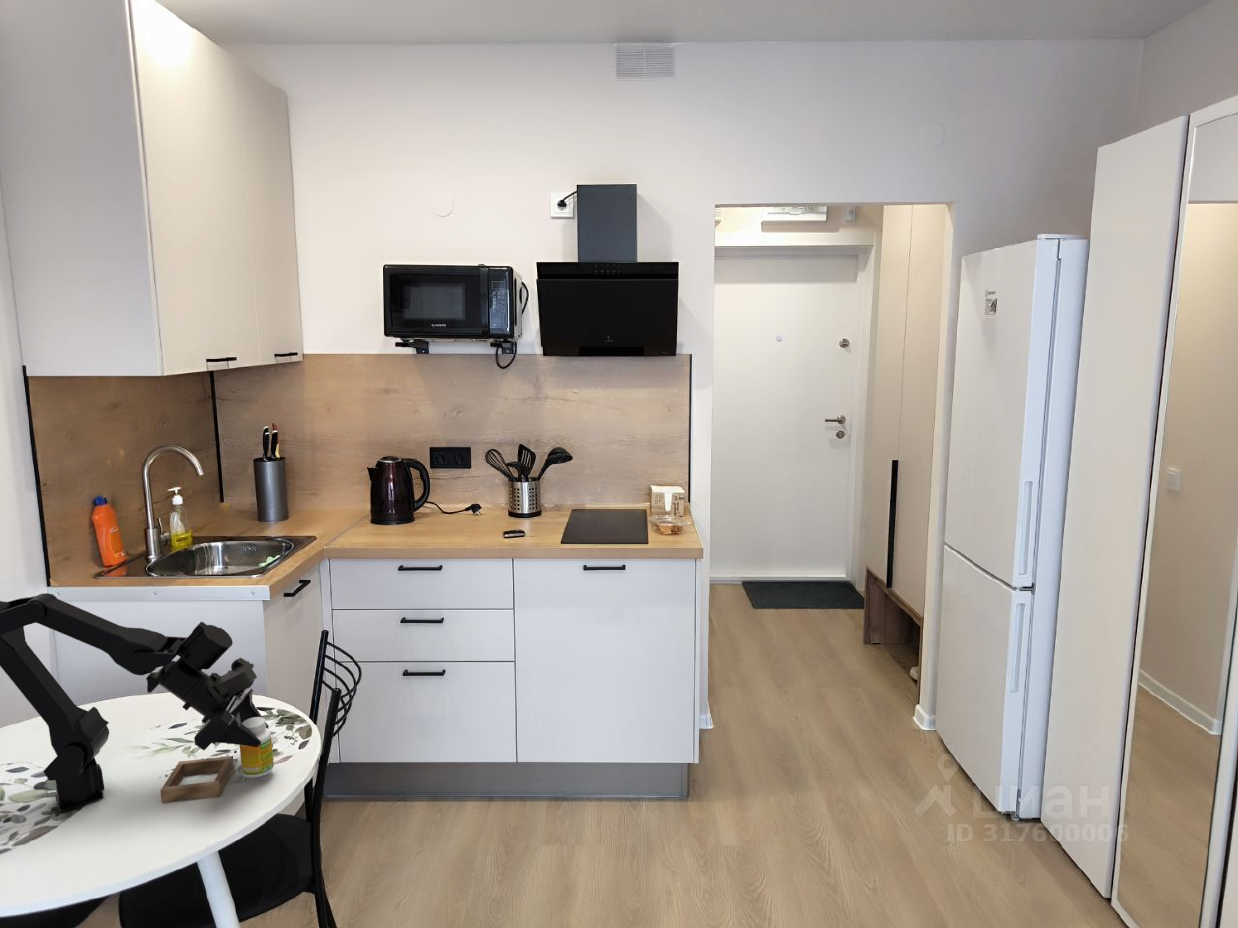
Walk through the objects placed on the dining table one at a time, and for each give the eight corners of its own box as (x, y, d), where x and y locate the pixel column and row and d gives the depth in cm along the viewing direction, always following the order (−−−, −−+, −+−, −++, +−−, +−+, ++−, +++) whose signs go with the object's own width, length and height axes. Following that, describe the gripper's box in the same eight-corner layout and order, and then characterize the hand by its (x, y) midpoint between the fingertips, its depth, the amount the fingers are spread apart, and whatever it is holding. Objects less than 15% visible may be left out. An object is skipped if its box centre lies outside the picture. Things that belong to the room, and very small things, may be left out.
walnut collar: (162, 802, 142) (160, 790, 142) (180, 773, 151) (179, 761, 151) (219, 796, 144) (218, 783, 143) (234, 767, 153) (233, 755, 153)
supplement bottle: (266, 778, 147) (261, 729, 145) (236, 778, 147) (231, 729, 145) (278, 762, 152) (274, 714, 150) (250, 762, 152) (246, 714, 150)
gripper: (207, 676, 135) (282, 730, 139) (238, 633, 153) (303, 682, 157) (162, 723, 135) (237, 776, 139) (197, 675, 153) (264, 723, 157)
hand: (263, 736), depth 148 cm, fingers closed on supplement bottle, 5 cm apart
